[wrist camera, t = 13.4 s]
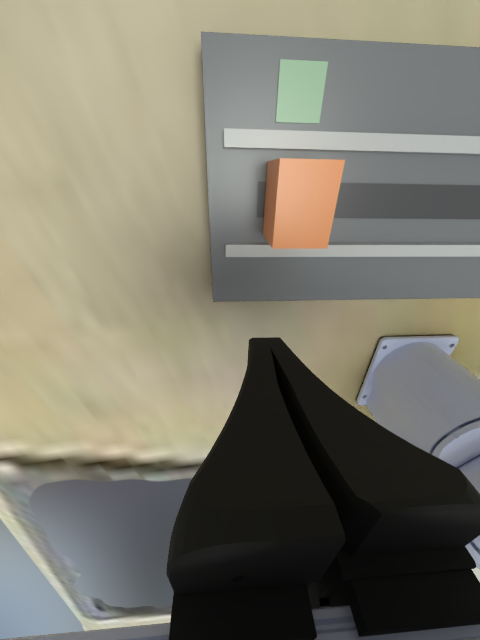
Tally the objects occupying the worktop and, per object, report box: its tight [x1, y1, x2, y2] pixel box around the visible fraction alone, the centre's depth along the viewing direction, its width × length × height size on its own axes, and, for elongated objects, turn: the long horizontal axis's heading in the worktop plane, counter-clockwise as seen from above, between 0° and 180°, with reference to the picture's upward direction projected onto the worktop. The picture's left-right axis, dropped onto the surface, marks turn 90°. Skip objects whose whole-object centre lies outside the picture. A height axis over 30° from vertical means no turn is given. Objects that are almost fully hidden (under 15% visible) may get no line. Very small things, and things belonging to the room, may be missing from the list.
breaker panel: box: [201, 32, 480, 302], centre depth 16 cm, size 14×22×3 cm, turn 89°
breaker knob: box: [263, 158, 345, 249], centre depth 13 cm, size 4×3×4 cm
